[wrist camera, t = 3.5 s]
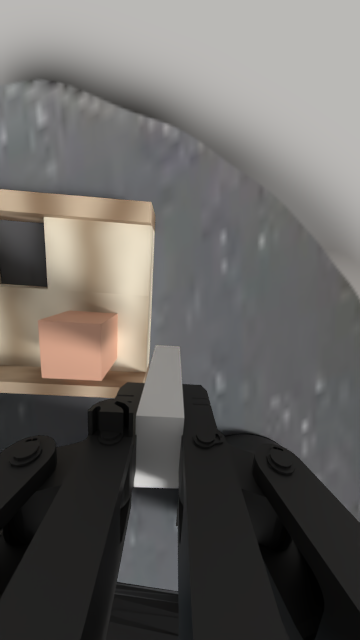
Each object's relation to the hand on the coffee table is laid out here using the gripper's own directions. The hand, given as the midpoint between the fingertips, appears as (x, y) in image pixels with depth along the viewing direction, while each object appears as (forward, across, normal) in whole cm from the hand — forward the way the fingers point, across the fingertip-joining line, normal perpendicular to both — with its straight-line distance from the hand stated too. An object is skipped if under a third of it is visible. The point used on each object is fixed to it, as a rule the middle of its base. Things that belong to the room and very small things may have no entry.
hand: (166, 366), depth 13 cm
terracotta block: (+7, +7, 0) cm, 10 cm away
